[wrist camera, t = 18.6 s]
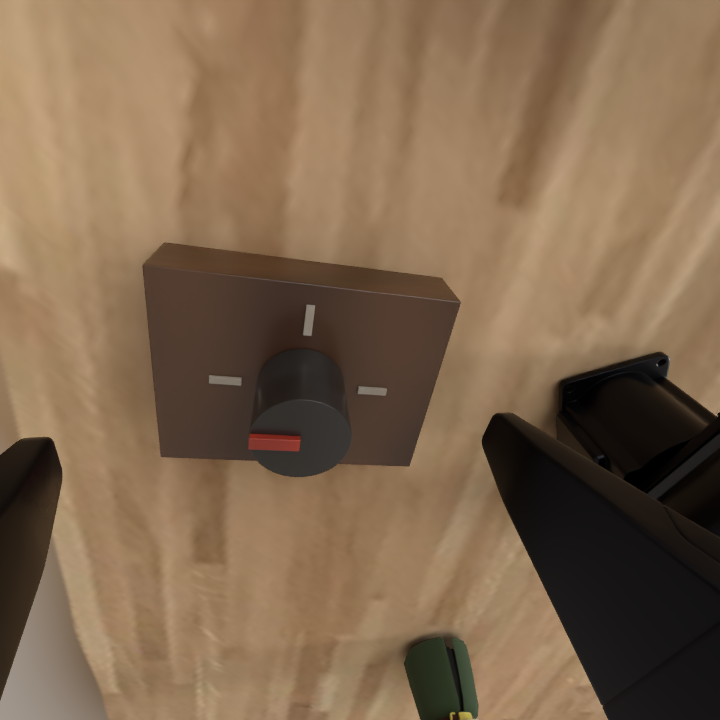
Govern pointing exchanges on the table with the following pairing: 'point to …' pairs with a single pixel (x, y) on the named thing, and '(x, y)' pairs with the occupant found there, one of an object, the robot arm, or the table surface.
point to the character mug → (442, 680)
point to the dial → (300, 414)
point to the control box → (290, 345)
